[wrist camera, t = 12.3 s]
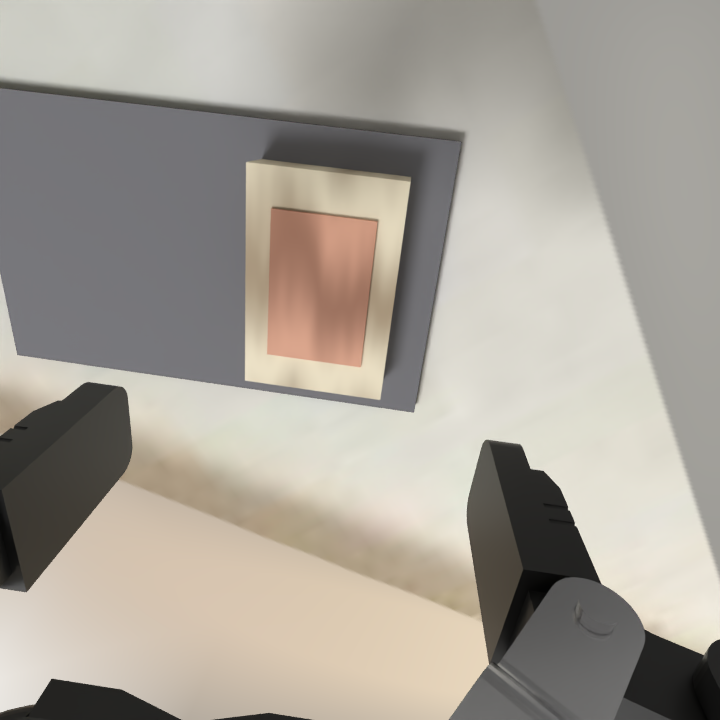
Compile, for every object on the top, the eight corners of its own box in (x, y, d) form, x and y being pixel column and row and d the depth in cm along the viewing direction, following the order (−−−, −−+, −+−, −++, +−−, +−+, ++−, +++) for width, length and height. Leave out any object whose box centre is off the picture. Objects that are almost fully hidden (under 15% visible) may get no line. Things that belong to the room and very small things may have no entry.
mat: (26, 350, 26) (17, 355, 25) (-28, 84, 20) (-40, 83, 20) (414, 406, 25) (413, 412, 24) (460, 141, 19) (461, 141, 19)
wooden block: (244, 162, 18) (410, 182, 18) (261, 158, 20) (411, 176, 20) (243, 382, 22) (379, 401, 22) (258, 361, 24) (383, 379, 23)
